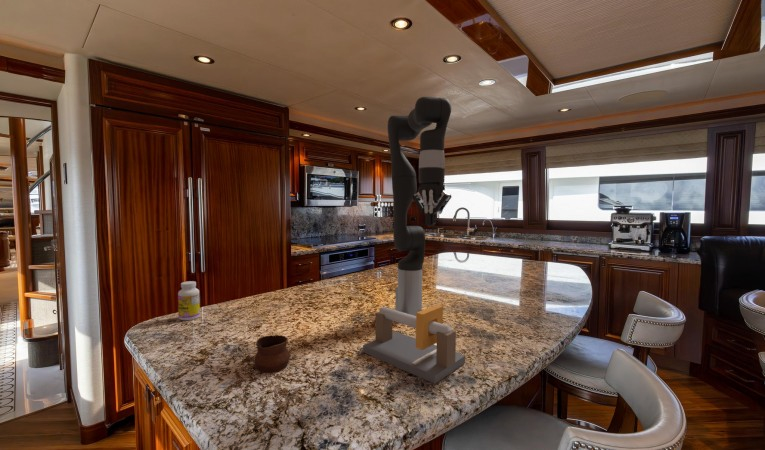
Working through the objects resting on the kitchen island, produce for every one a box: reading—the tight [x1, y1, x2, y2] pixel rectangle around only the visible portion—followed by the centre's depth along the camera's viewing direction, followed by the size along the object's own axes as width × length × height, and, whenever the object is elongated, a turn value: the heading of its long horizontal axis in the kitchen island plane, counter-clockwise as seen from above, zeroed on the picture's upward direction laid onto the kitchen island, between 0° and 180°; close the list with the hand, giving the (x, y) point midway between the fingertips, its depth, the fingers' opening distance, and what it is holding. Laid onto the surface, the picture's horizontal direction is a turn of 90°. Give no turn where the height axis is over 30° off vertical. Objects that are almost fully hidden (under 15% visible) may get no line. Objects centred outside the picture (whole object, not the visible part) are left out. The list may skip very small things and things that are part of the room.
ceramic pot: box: [233, 334, 291, 382], centre depth 85 cm, size 18×18×7 cm
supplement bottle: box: [177, 280, 201, 321], centre depth 119 cm, size 7×7×13 cm
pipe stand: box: [362, 306, 466, 385], centre depth 90 cm, size 24×14×12 cm, turn 47°
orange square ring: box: [415, 304, 444, 350], centre depth 86 cm, size 2×9×9 cm, turn 137°
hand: (430, 226), depth 99 cm, fingers closed
